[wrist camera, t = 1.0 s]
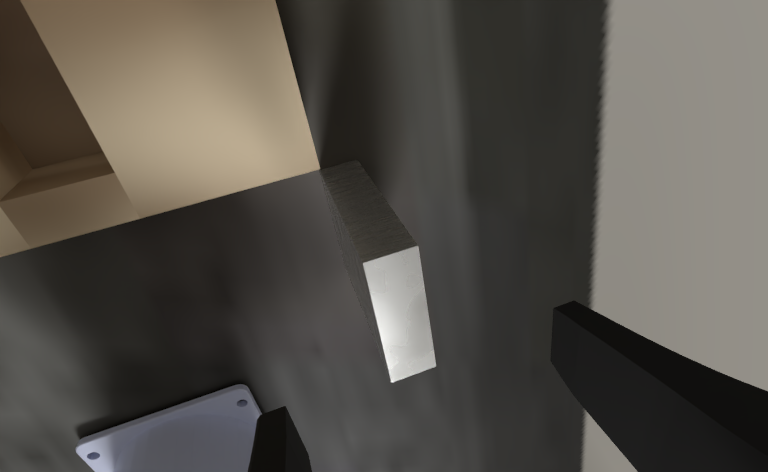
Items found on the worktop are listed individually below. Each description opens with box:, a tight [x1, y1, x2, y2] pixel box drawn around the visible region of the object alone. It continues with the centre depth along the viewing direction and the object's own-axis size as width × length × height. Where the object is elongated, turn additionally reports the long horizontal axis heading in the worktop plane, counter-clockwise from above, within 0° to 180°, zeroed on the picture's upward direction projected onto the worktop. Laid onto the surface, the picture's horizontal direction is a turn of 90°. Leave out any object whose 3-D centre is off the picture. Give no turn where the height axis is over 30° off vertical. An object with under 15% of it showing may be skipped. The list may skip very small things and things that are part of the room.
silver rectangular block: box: [319, 160, 436, 383], centre depth 16 cm, size 5×2×7 cm, turn 9°
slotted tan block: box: [0, 0, 320, 257], centre depth 11 cm, size 10×14×4 cm
